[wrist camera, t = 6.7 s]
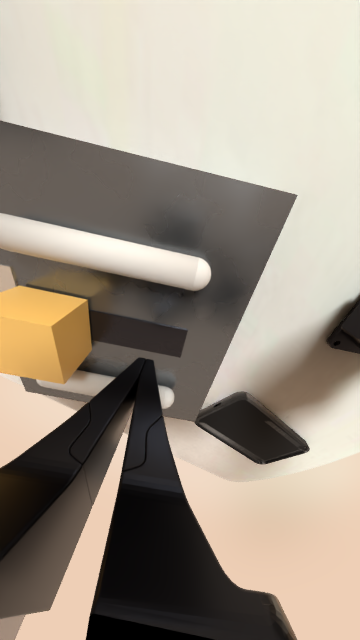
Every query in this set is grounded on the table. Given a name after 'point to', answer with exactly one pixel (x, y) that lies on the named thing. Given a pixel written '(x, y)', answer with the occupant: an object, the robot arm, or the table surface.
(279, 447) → the phone
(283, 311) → the table surface
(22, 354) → the block
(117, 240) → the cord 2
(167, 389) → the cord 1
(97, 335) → the panel
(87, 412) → the robot arm
